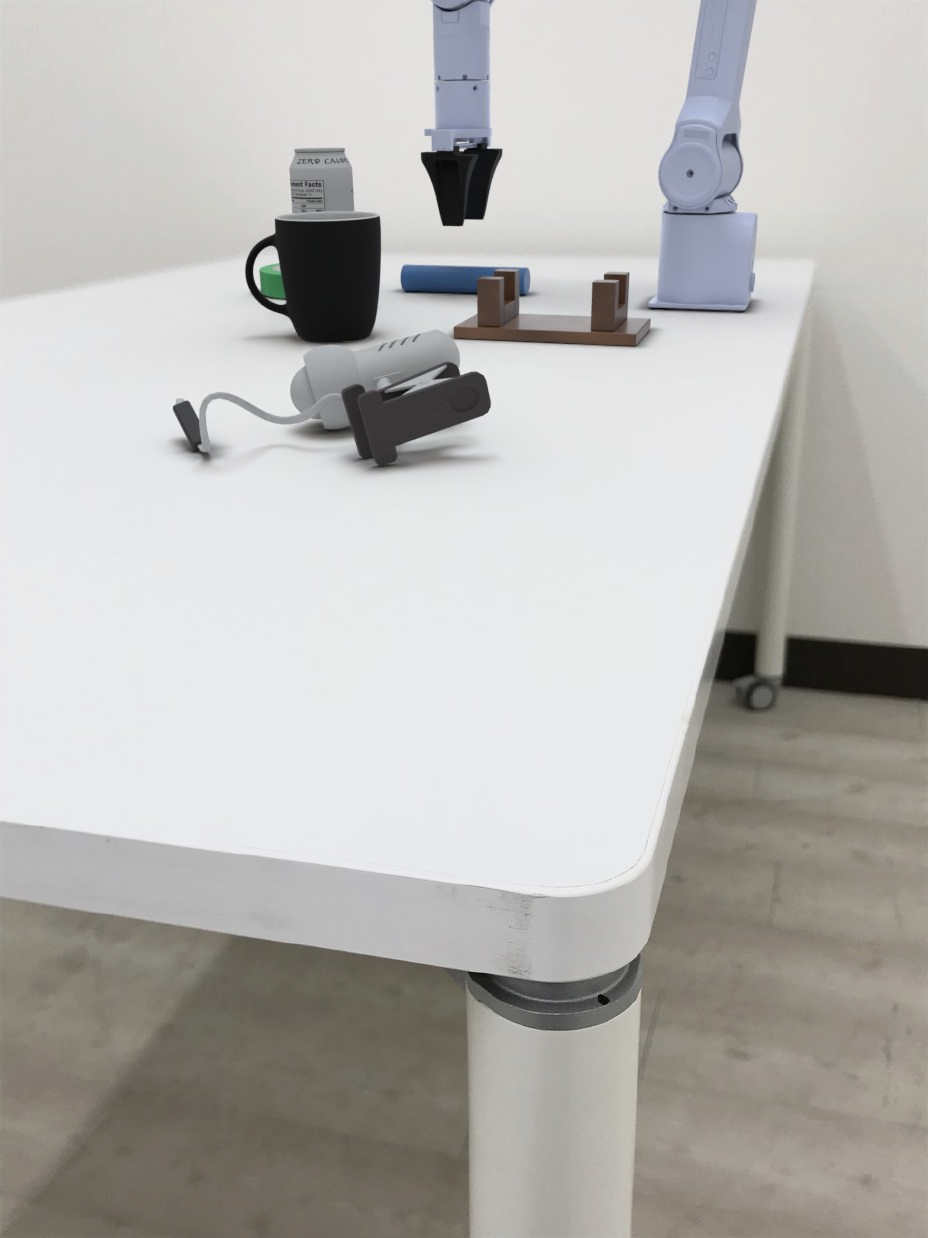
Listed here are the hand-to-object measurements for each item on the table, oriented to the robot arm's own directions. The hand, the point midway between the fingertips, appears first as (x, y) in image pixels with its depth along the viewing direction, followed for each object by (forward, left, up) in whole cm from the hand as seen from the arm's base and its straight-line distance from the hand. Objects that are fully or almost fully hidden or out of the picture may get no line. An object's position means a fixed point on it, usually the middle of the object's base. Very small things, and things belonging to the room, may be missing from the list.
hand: (463, 222), depth 118 cm
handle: (0, 0, -7) cm, 7 cm away
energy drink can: (+10, +14, -7) cm, 19 cm away
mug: (+5, +28, -7) cm, 29 cm away
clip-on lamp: (-10, +60, -7) cm, 61 cm away
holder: (-15, +22, -7) cm, 28 cm away
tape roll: (+17, +3, -7) cm, 19 cm away
